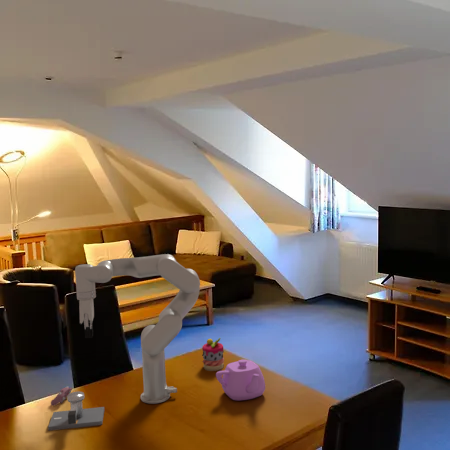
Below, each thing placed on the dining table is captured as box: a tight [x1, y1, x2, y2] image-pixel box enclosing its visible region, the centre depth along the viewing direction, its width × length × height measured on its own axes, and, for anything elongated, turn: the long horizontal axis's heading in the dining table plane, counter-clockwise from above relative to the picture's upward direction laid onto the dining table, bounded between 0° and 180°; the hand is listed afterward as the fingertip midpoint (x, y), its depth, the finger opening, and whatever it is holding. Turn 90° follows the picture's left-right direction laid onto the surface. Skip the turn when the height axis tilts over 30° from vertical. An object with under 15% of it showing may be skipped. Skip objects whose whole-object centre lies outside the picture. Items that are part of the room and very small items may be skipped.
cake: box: [201, 337, 225, 372], centre depth 248 cm, size 10×10×15 cm
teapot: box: [215, 358, 266, 401], centre depth 214 cm, size 23×21×15 cm
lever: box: [66, 391, 85, 424], centre depth 195 cm, size 17×6×9 cm, turn 10°
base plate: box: [47, 406, 105, 431], centre depth 200 cm, size 20×12×2 cm, turn 99°
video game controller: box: [50, 386, 73, 407], centre depth 217 cm, size 10×5×7 cm, turn 169°
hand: (89, 337), depth 211 cm, fingers closed
